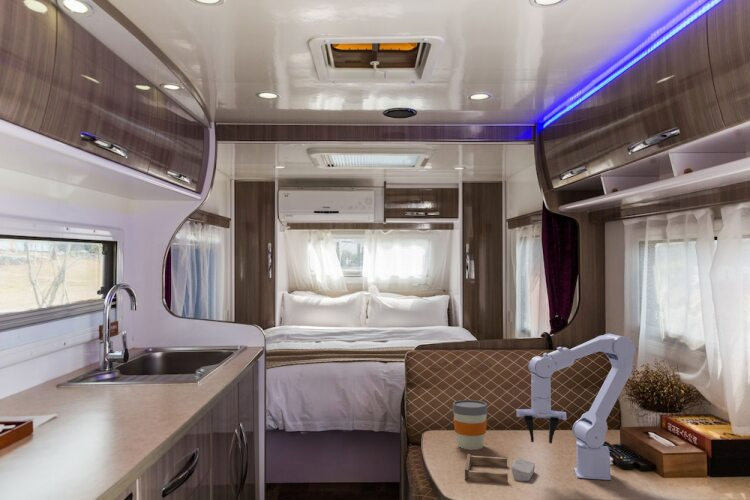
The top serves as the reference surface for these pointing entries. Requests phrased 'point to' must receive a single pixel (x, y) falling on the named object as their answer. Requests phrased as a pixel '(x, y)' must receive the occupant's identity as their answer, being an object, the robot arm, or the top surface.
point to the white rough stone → (522, 469)
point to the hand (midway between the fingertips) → (541, 441)
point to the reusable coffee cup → (470, 423)
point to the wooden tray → (485, 475)
